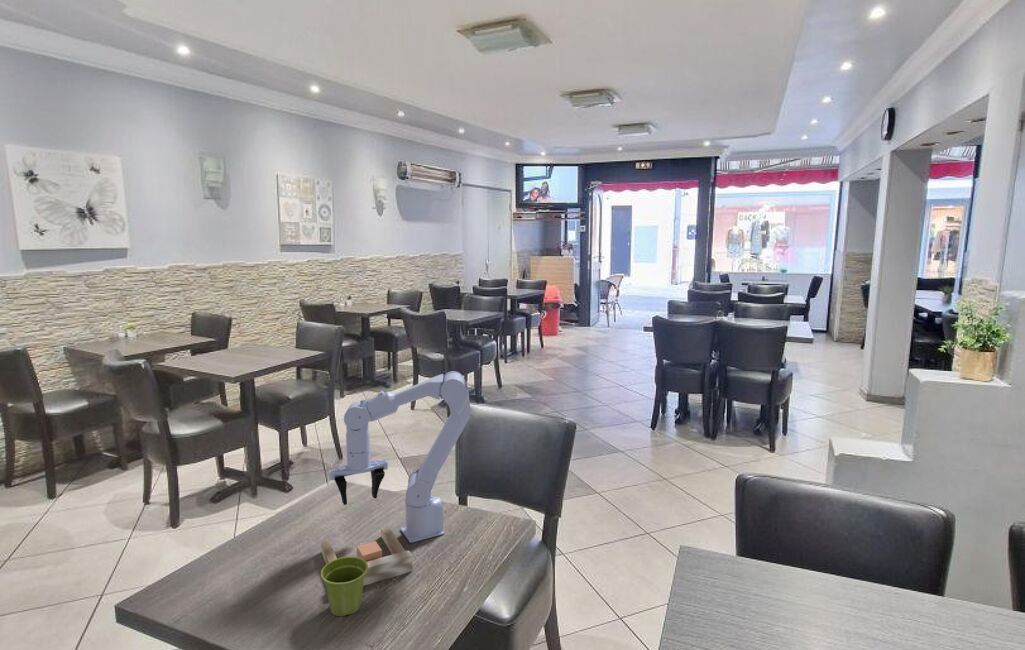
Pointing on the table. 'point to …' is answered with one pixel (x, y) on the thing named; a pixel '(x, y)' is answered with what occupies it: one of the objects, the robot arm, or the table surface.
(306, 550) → the table surface
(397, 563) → the wooden u-shaped frame
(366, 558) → the block
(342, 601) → the plant pot
